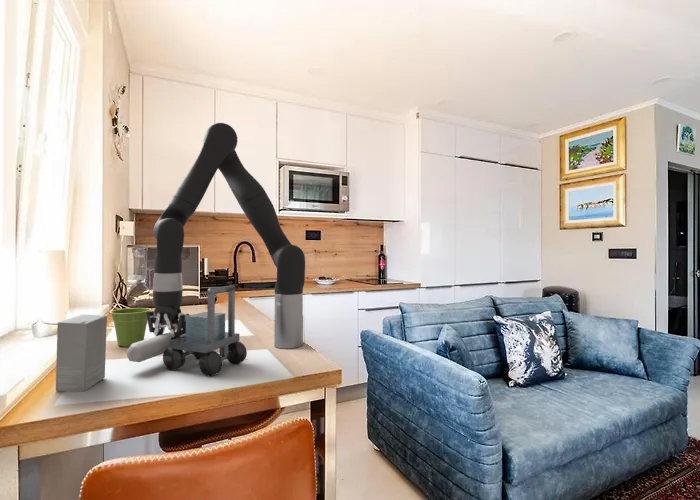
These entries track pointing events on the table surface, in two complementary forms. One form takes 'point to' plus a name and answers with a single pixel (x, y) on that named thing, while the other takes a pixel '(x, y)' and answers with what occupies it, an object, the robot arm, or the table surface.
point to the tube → (149, 347)
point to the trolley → (208, 338)
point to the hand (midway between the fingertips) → (167, 348)
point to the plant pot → (130, 325)
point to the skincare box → (80, 352)
